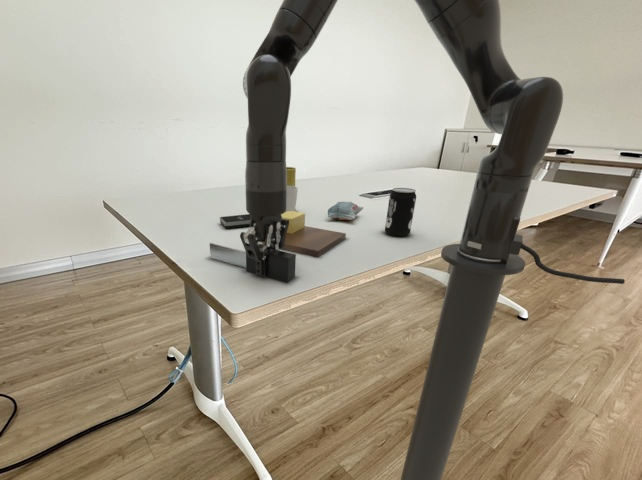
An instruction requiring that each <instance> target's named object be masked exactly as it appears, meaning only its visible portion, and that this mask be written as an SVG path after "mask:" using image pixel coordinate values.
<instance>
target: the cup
mask: <svg viewBox="0 0 642 480" xmlns="http://www.w3.org/2000/svg"><path fill="white" fill-rule="evenodd" d="M298 189H299V188H298V187H297V186H296V185H295V186H287V202H286V212H288V211H295V210H296V206H297V200H298Z"/></svg>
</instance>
